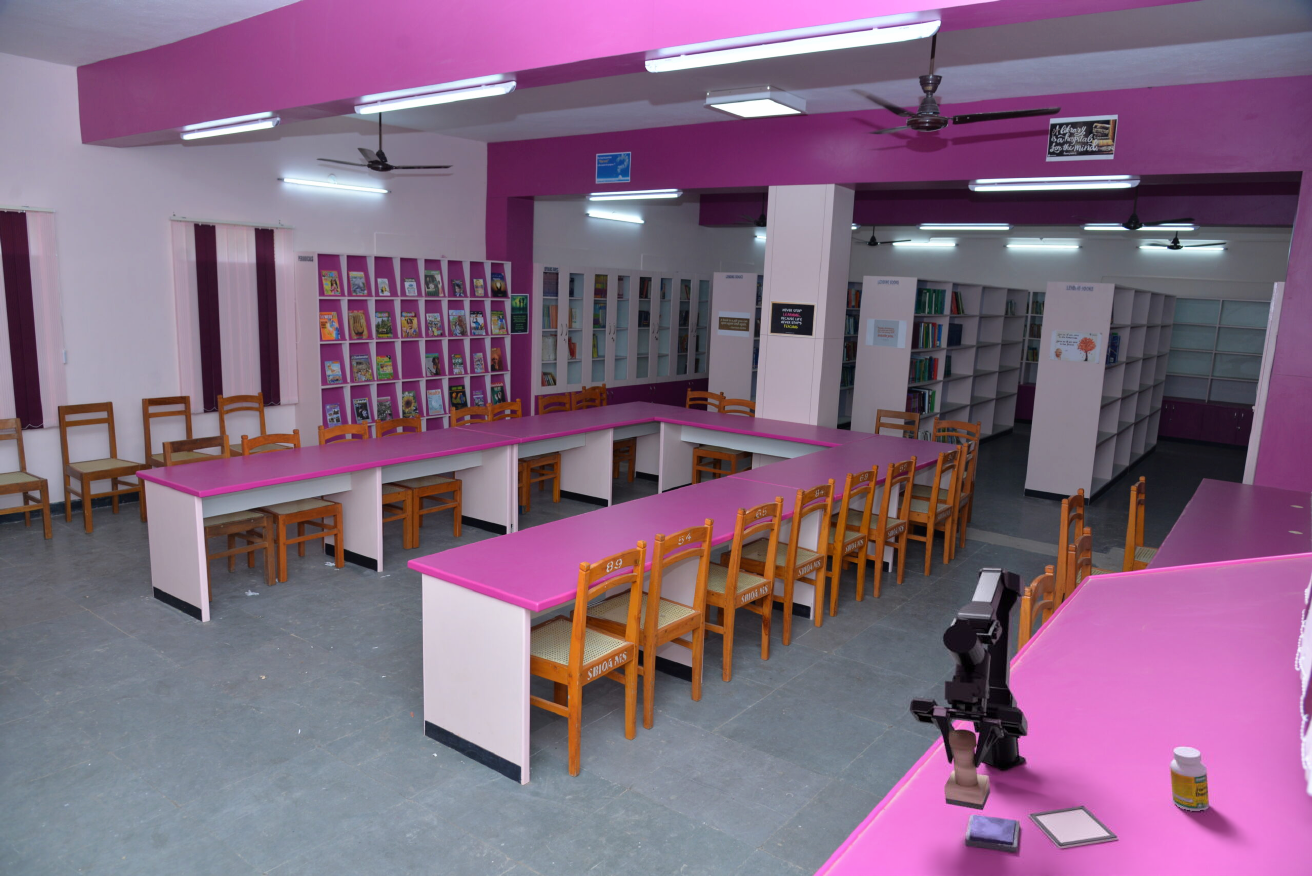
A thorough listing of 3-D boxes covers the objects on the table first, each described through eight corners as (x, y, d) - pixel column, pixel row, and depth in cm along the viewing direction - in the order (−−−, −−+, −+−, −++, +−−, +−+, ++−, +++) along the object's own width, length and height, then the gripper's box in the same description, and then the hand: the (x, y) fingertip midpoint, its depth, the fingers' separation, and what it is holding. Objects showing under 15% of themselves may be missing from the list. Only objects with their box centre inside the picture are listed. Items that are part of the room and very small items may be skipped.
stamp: (954, 786, 148) (948, 725, 147) (990, 792, 144) (984, 730, 143) (945, 803, 143) (939, 740, 142) (982, 810, 139) (976, 745, 138)
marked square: (1028, 816, 147) (1028, 813, 147) (1083, 808, 147) (1083, 805, 147) (1059, 848, 137) (1059, 845, 137) (1118, 839, 137) (1118, 836, 137)
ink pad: (970, 820, 148) (970, 812, 148) (1019, 826, 144) (1019, 818, 144) (965, 845, 141) (964, 837, 141) (1017, 852, 137) (1016, 844, 137)
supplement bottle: (1181, 793, 148) (1178, 741, 147) (1215, 804, 144) (1211, 751, 143) (1166, 804, 145) (1162, 752, 145) (1200, 816, 141) (1196, 762, 140)
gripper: (907, 654, 150) (895, 740, 142) (1018, 663, 139) (1012, 757, 131) (923, 679, 157) (912, 762, 149) (1030, 690, 147) (1025, 780, 139)
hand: (962, 765), depth 142 cm, fingers closed on stamp, 4 cm apart
